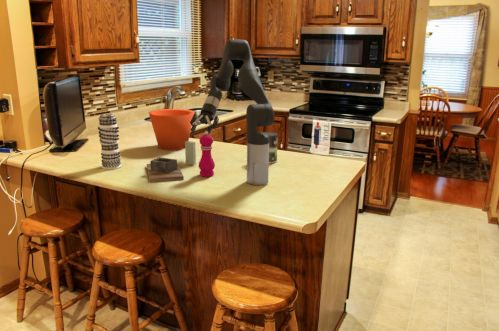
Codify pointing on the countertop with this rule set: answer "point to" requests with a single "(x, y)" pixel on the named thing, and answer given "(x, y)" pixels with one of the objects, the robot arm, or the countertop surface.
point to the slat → (190, 152)
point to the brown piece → (164, 170)
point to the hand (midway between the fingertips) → (199, 132)
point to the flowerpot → (171, 127)
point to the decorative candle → (109, 141)
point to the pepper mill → (206, 156)
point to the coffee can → (272, 146)
